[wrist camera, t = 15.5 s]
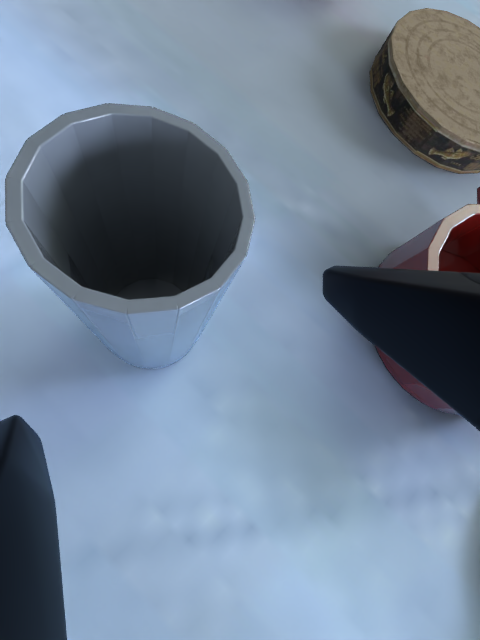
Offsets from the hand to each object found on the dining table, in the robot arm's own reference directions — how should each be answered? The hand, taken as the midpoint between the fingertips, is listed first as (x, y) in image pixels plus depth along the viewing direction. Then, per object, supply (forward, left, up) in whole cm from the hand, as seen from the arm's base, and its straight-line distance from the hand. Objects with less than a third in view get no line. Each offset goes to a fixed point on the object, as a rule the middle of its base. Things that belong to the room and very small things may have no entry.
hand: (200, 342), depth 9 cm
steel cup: (+3, +2, -10) cm, 11 cm away
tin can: (+32, -18, -11) cm, 38 cm away
